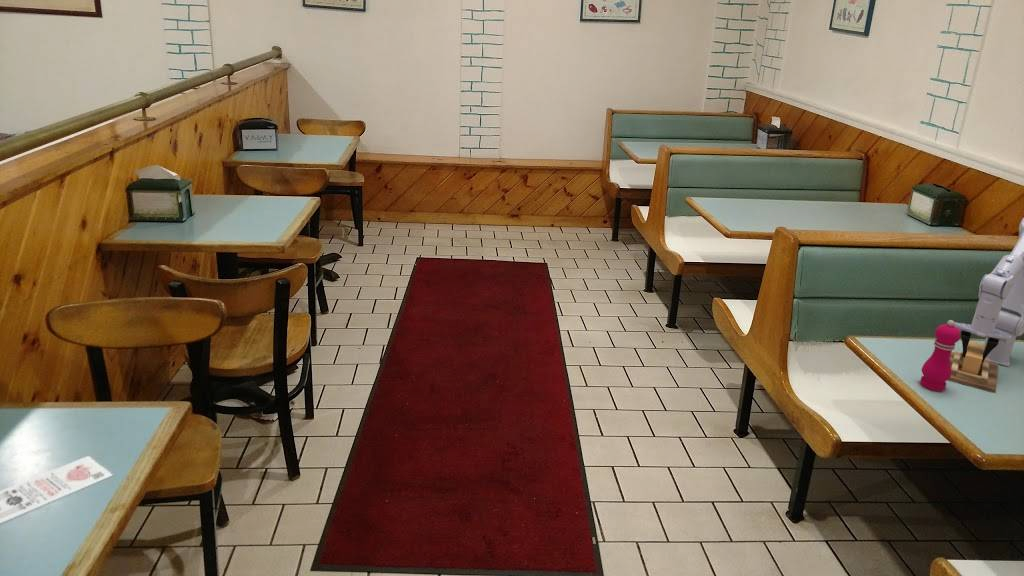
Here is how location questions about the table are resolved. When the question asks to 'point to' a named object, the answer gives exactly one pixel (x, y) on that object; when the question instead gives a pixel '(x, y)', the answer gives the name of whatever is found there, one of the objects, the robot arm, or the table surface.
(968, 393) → the table surface
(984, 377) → the jig
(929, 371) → the pepper mill
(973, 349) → the tan block
